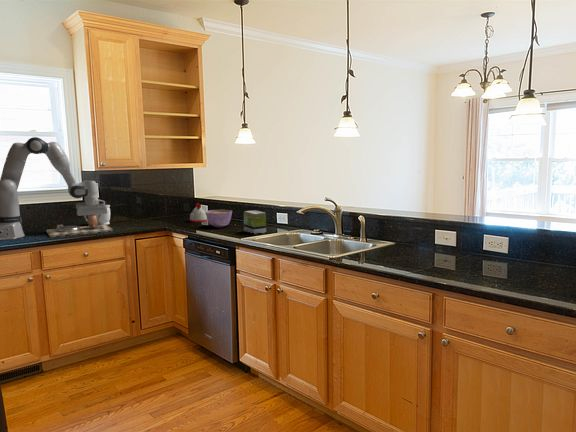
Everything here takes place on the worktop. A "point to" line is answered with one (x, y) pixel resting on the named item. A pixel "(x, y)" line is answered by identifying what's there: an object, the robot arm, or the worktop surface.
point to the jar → (105, 217)
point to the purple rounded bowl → (218, 217)
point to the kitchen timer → (198, 214)
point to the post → (67, 228)
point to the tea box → (254, 221)
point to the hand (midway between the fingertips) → (92, 221)
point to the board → (80, 231)
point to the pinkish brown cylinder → (92, 220)
